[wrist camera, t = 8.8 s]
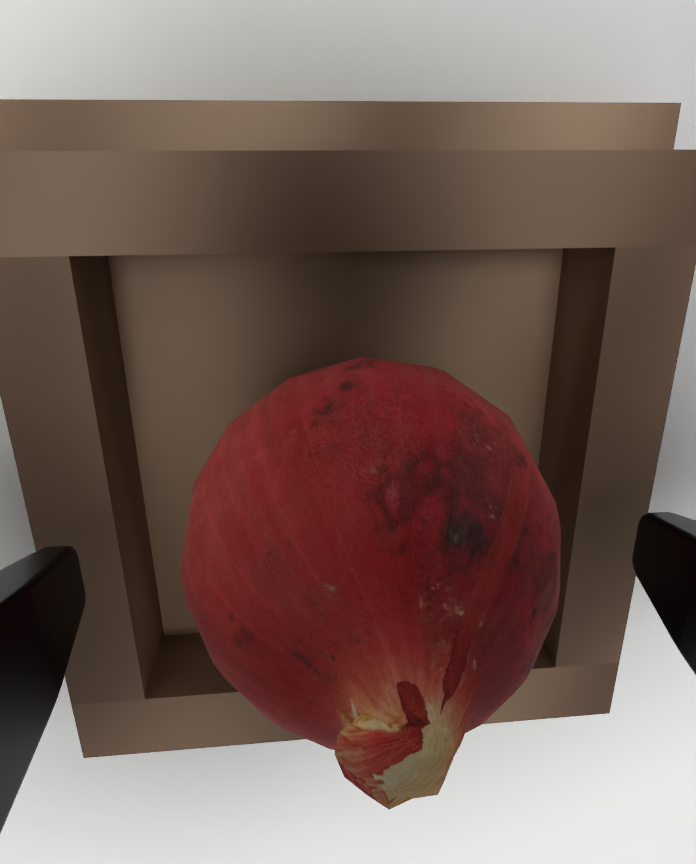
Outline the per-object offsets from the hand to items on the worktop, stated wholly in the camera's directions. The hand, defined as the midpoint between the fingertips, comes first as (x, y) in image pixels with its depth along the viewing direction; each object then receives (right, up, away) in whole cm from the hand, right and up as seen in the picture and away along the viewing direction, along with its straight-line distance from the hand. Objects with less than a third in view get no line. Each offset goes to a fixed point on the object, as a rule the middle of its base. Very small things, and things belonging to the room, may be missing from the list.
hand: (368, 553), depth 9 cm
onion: (0, +2, +4) cm, 4 cm away
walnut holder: (-1, +2, +5) cm, 5 cm away
